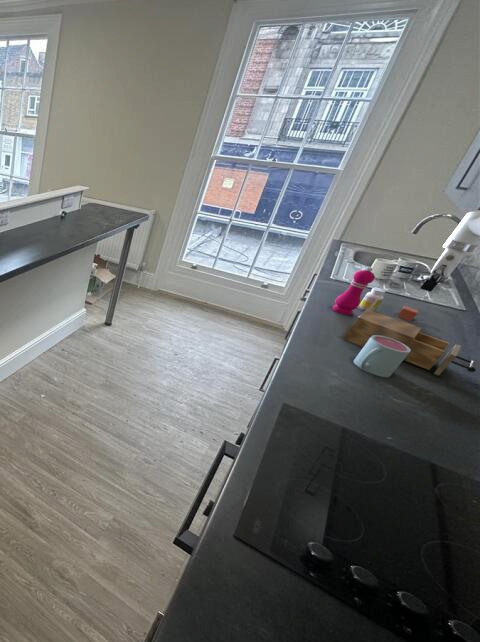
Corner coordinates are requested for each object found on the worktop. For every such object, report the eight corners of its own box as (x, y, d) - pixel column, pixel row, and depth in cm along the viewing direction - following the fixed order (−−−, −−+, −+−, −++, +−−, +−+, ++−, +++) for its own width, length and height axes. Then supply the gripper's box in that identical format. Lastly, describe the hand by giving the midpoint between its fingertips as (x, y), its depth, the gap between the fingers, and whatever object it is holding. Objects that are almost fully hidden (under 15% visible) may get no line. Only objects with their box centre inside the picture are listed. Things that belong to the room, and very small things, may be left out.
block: (412, 319, 163) (419, 310, 161) (410, 322, 161) (417, 313, 159) (398, 315, 166) (405, 305, 164) (395, 317, 164) (402, 308, 162)
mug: (362, 358, 133) (381, 333, 128) (396, 375, 126) (417, 349, 121) (338, 364, 128) (356, 339, 123) (371, 383, 121) (391, 356, 116)
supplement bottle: (371, 310, 168) (386, 289, 163) (375, 315, 164) (390, 294, 159) (355, 306, 170) (369, 285, 165) (358, 311, 166) (373, 290, 161)
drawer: (467, 373, 129) (485, 354, 125) (462, 385, 123) (481, 365, 119) (391, 344, 141) (406, 326, 137) (384, 353, 135) (398, 334, 131)
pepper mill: (343, 317, 159) (374, 271, 149) (325, 308, 165) (353, 263, 155) (356, 316, 161) (387, 270, 151) (337, 307, 167) (366, 263, 157)
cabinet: (403, 351, 140) (421, 328, 135) (395, 361, 133) (414, 338, 128) (352, 331, 150) (367, 309, 145) (342, 340, 143) (358, 317, 138)
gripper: (470, 253, 140) (437, 296, 149) (476, 246, 150) (444, 287, 158) (441, 246, 145) (410, 288, 154) (448, 239, 155) (419, 279, 163)
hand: (427, 287), depth 156 cm, fingers open, 9 cm apart
